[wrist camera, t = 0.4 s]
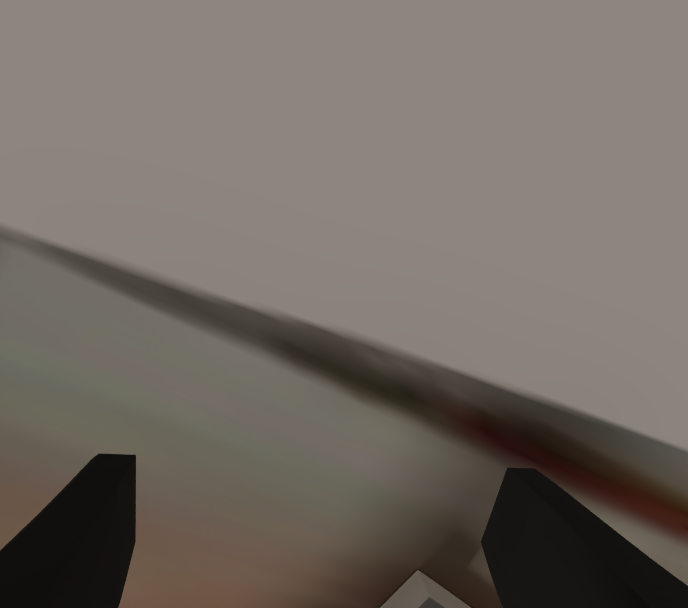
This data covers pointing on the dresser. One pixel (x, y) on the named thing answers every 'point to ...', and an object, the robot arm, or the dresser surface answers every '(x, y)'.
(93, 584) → the robot arm
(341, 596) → the dresser surface
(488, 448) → the dresser surface
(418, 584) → the white tray
